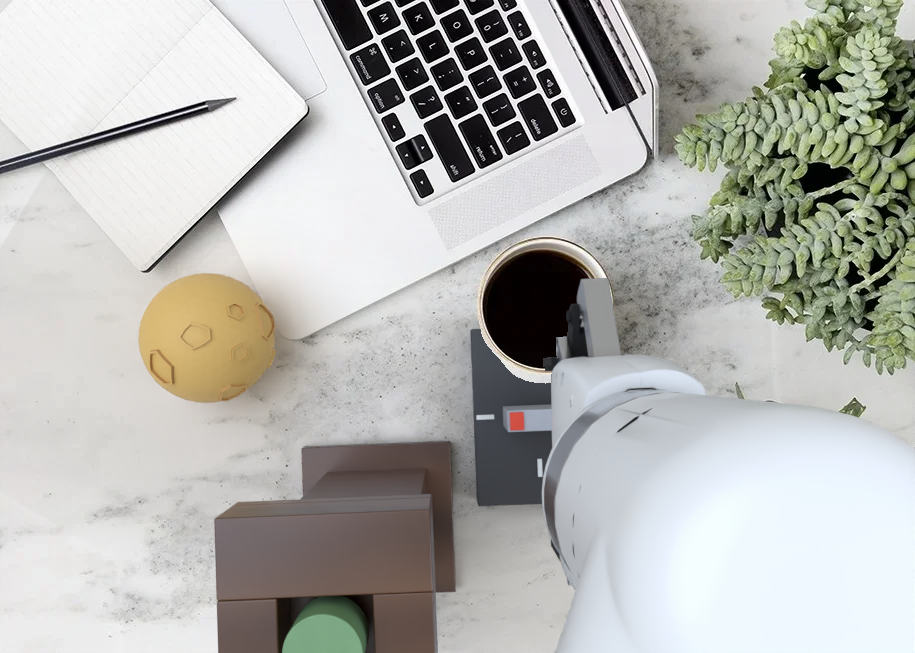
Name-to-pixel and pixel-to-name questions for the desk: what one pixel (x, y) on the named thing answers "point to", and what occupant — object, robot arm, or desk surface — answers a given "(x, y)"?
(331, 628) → the green button
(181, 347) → the stress ball
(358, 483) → the post
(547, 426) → the block
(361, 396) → the desk surface
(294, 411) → the desk surface
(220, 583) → the brown blocky frame
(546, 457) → the gadget
